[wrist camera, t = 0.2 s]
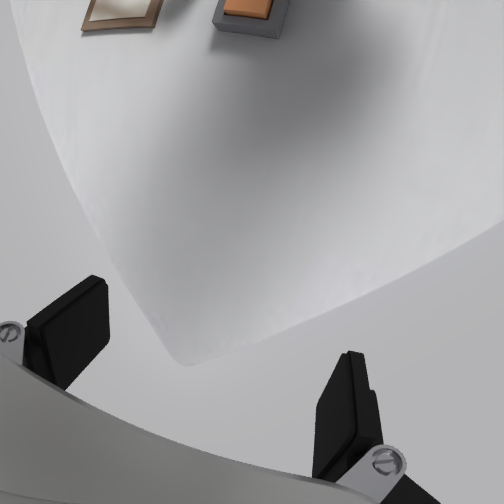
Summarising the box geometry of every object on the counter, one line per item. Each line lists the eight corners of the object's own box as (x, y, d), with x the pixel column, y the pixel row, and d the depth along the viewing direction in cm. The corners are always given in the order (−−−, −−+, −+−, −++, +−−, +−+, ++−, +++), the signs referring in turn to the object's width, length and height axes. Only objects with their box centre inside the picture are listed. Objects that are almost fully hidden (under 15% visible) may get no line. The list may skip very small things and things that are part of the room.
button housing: (234, -16, 31) (227, -27, 27) (291, -9, 30) (290, -20, 27) (219, 30, 34) (211, 22, 30) (278, 39, 33) (275, 30, 30)
